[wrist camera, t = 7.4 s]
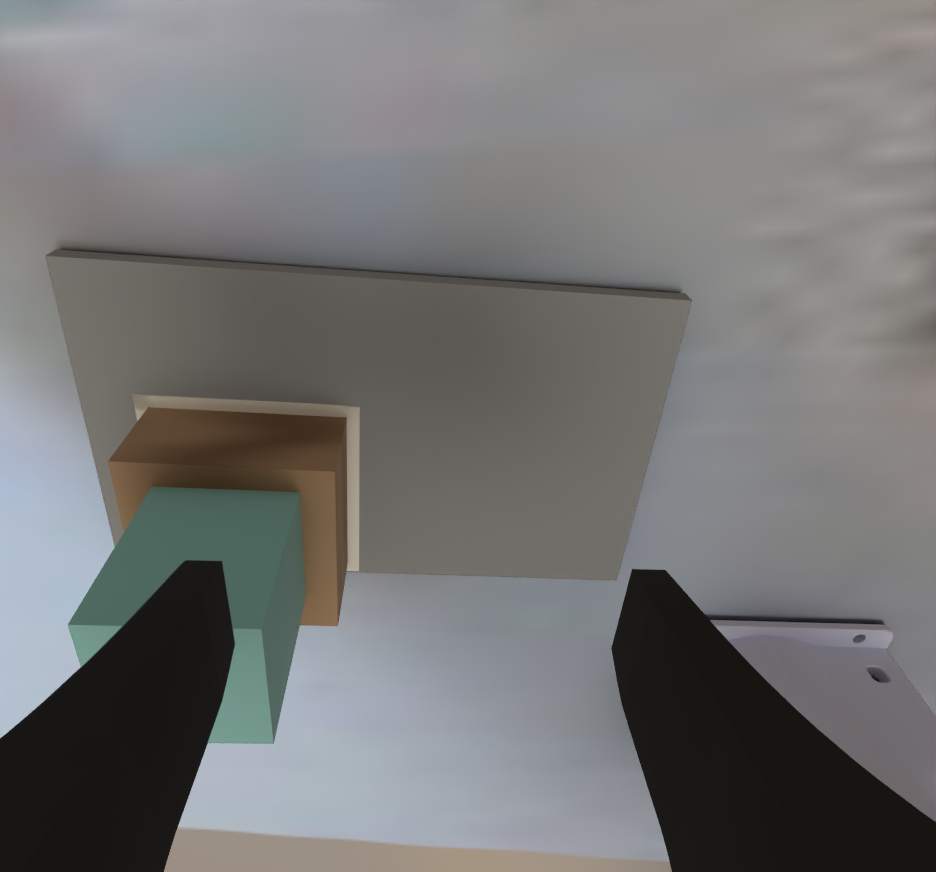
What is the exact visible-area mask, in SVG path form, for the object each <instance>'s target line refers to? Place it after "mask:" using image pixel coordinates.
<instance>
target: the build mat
mask: <svg viewBox="0 0 936 872" xmlns="http://www.w3.org/2000/svg"><path fill="white" fill-rule="evenodd" d="M46 261H47V265H48V269H49V273H50V277H51V282H52V286H53V290H54V294H55V298H56V302H57V307H58V311H59V315H60V319H61V323H62V328H63V332H64V336H65V340H66V344H67V348H68V353H69V357H70V361H71V365H72V369H73V374H74V378H75V382H76V386H77V390H78V394H79V399H80V403H81V407H82V411H83V415H84V420H85V424H86V428H87V432H88V436H89V441H90V445H91V449H92V453H93V457H94V461H95V466H96V470H97V474H98V478H99V482H100V487H101V491H102V495H103V499H104V503H105V507H106V512H107V516H108V520H109V524H110V528H111V533H112V537H113V541H114V545H115V546H116V545H117V543H118V541H119V540H120V538H121V536H122V535H123V533H124V531H123V527H122V522H121V518H120V514H119V509H118V505H117V500H116V496H115V491H114V487H113V483H112V478H111V474H110V469H109V465H108V460H109V459H110V458H111V456H112V455H113V454H114V452H115V451H116V450H117V448H118V447H119V446H120V444H121V443H122V442H123V440H124V439H125V438H126V436H127V435H128V434H129V432H130V431H131V429H132V428H133V427H134V425H135V424H136V423H137V421H138V420H139V419H140V417H141V416H142V415H143V413H144V412H145V411H146V409H147V408H148V407H152V408H172V409H191V410H211V411H230V412H249V413H269V414H288V415H308V416H327V417H347V541H348V564H347V570H346V572H370V573H401V574H432V575H463V576H495V577H526V578H557V579H588V580H617V577H618V573H619V569H620V566H621V562H622V558H623V554H624V551H625V547H626V543H627V540H628V536H629V532H630V528H631V525H632V521H633V517H634V514H635V510H636V506H637V503H638V499H639V495H640V491H641V488H642V484H643V480H644V477H645V473H646V469H647V465H648V462H649V458H650V454H651V451H652V447H653V443H654V439H655V436H656V432H657V428H658V425H659V421H660V417H661V414H662V410H663V406H664V402H665V399H666V395H667V391H668V388H669V384H670V380H671V376H672V373H673V369H674V365H675V362H676V358H677V354H678V351H679V347H680V343H681V339H682V336H683V332H684V328H685V325H686V321H687V317H688V313H689V310H690V306H691V302H692V300H691V299H690V298H689V297H688V296H687V295H686V294H683V293H669V292H655V291H640V290H626V289H612V288H598V287H583V286H569V285H555V284H540V283H526V282H512V281H498V280H483V279H469V278H455V277H440V276H426V275H412V274H398V273H383V272H369V271H355V270H340V269H326V268H312V267H298V266H283V265H269V264H255V263H240V262H226V261H212V260H198V259H183V258H169V257H155V256H140V255H126V254H112V253H98V252H83V251H69V250H54V251H53V252H51V253H49V254H48V255H46Z"/></svg>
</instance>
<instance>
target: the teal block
mask: <svg viewBox="0 0 936 872" xmlns="http://www.w3.org/2000/svg"><path fill="white" fill-rule="evenodd" d="M185 560H203V561H222V564H223V570H224V577H225V583H226V589H227V596H228V602H229V608H230V615H231V621H232V628H233V634H234V640H235V647H234V652H233V656H232V661H231V665H230V670H229V675H228V679H227V683H226V687H225V691H224V696H223V700H222V703H221V706H220V709H219V712H218V715H217V718H216V721H215V723H214V726H213V729H212V732H211V735H210V738H209V740H208V743H254V744H274V740H275V735H276V730H277V726H278V721H279V717H280V712H281V708H282V703H283V699H284V694H285V689H286V685H287V680H288V676H289V671H290V667H291V662H292V658H293V653H294V648H295V644H296V639H297V635H298V630H299V626H300V621H301V617H302V612H303V607H304V603H305V598H306V591H305V573H304V555H303V537H302V519H301V501H300V492H278V491H253V490H227V489H202V488H177V487H151V489H150V490H149V492H148V494H147V495H146V497H145V499H144V500H143V502H142V504H141V505H140V507H139V508H138V510H137V512H136V513H135V515H134V517H133V518H132V520H131V522H130V523H129V525H128V527H127V528H126V530H125V532H124V533H123V535H122V536H121V538H120V540H119V541H118V543H117V545H116V546H115V548H114V550H113V551H112V553H111V555H110V556H109V558H108V559H107V561H106V563H105V564H104V566H103V568H102V569H101V571H100V573H99V574H98V576H97V578H96V579H95V581H94V583H93V584H92V586H91V587H90V589H89V591H88V592H87V594H86V596H85V597H84V599H83V601H82V602H81V604H80V606H79V607H78V609H77V611H76V612H75V614H74V615H73V617H72V619H71V620H70V622H69V624H68V627H69V630H70V633H71V637H72V640H73V643H74V646H75V649H76V653H77V656H78V659H79V662H80V665H81V667H82V666H83V665H84V664H85V663H86V662H87V661H88V660H89V659H90V658H91V657H92V656H93V655H94V654H95V653H96V652H97V651H98V650H99V649H100V648H101V647H102V646H103V645H104V644H105V643H106V642H107V641H108V640H109V639H110V638H111V637H112V636H113V635H114V634H115V633H116V632H117V631H118V630H119V629H120V628H121V627H122V626H123V625H124V624H125V623H126V622H127V621H128V620H129V619H130V618H131V617H132V616H133V615H134V614H135V613H136V612H137V611H138V609H139V608H140V607H141V606H142V605H143V604H144V603H145V602H146V601H147V600H148V599H149V598H150V597H151V596H152V595H153V594H154V592H155V591H156V590H157V589H158V588H159V587H160V586H161V585H162V584H163V583H164V582H165V581H166V579H167V578H168V577H169V576H170V575H171V574H172V573H173V572H174V571H175V570H176V569H177V568H178V567H179V566H180V565H181V564H182V563H183V562H184V561H185Z"/></svg>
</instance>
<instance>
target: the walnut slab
mask: <svg viewBox="0 0 936 872" xmlns="http://www.w3.org/2000/svg"><path fill="white" fill-rule="evenodd" d="M108 465H109V469H110V474H111V478H112V483H113V487H114V491H115V496H116V500H117V505H118V509H119V514H120V518H121V522H122V527H123V531H124V532H125V530H126V528H127V527H128V525H129V523H130V522H131V520H132V518H133V517H134V515H135V513H136V512H137V510H138V508H139V507H140V505H141V504H142V502H143V500H144V499H145V497H146V495H147V494H148V492H149V490H150V489H151V487H177V488H202V489H227V490H253V491H278V492H300V501H301V519H302V537H303V555H304V573H305V591H306V598H305V603H304V607H303V612H302V617H301V621H300V625H314V626H338V621H339V615H340V609H341V602H342V596H343V589H344V583H345V576H346V570H347V564H348V541H347V417H327V416H308V415H288V414H269V413H249V412H230V411H211V410H191V409H172V408H152V407H148V408H147V409H146V411H145V412H144V413H143V415H142V416H141V417H140V419H139V420H138V421H137V423H136V424H135V425H134V427H133V428H132V429H131V431H130V432H129V434H128V435H127V436H126V438H125V439H124V440H123V442H122V443H121V444H120V446H119V447H118V448H117V450H116V451H115V452H114V454H113V455H112V456H111V458H110V459H109V460H108Z"/></svg>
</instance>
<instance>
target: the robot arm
mask: <svg viewBox="0 0 936 872" xmlns="http://www.w3.org/2000/svg"><path fill="white" fill-rule="evenodd" d="M892 639H893V633H892V631H891V630H890V629H889V627H887V626H886V625H879V624H842V623H805V622H769V621H732V620H709V619H708V618H707V617H706V615H705V614H704V613H703V612H702V611H701V610H700V609H699V608H698V606H697V605H696V604H695V603H694V602H693V601H692V600H691V598H690V597H689V596H688V595H687V594H686V593H685V592H684V591H683V589H682V588H681V587H680V586H679V585H678V584H677V583H676V581H675V580H674V579H673V578H672V577H671V576H670V575H669V574H668V573H667V571H666V570H639V569H632V572H631V576H630V579H629V583H628V587H627V591H626V595H625V599H624V603H623V606H622V610H621V614H620V618H619V622H618V626H617V630H616V633H615V637H614V641H613V645H612V654H613V659H614V665H615V671H616V677H617V682H618V687H619V692H620V697H621V702H622V706H623V709H624V712H625V716H626V719H627V722H628V726H629V729H630V732H631V735H632V738H633V742H634V745H635V748H636V751H637V754H638V758H639V761H640V764H641V767H642V770H643V773H644V776H645V780H646V783H647V786H648V789H649V792H650V795H651V798H652V802H653V805H654V808H655V811H656V814H657V817H658V821H659V824H660V827H661V830H662V834H663V838H664V841H665V845H666V849H667V852H668V856H669V860H670V865H671V869H672V872H936V716H935V715H934V713H933V712H932V710H931V709H930V708H929V706H928V705H927V704H926V702H925V701H924V700H923V698H922V697H921V695H920V694H919V693H918V691H917V690H916V689H915V687H914V686H913V685H912V683H911V682H910V680H909V679H908V678H907V676H906V675H905V674H904V672H903V671H902V670H901V668H900V667H899V665H898V664H897V663H896V661H895V660H894V659H893V657H892V656H891V655H890V653H889V652H888V650H887V647H888V646H889V644H890V642H891V641H892ZM234 647H235V640H234V634H233V628H232V621H231V615H230V608H229V602H228V596H227V589H226V583H225V577H224V570H223V564H222V561H203V560H185V561H184V562H183V563H182V564H181V565H180V566H179V567H178V568H177V569H176V570H175V571H174V572H173V573H172V574H171V575H170V576H169V577H168V578H167V579H166V581H165V582H164V583H163V584H162V585H161V586H160V587H159V588H158V589H157V590H156V591H155V592H154V594H153V595H152V596H151V597H150V598H149V599H148V600H147V601H146V602H145V603H144V604H143V605H142V606H141V607H140V608H139V609H138V611H137V612H136V613H135V614H134V615H133V616H132V617H131V618H130V619H129V620H128V621H127V622H126V623H125V624H124V625H123V626H122V627H121V628H120V629H119V630H118V631H117V632H116V633H115V634H114V635H113V636H112V637H111V638H110V639H109V640H108V641H107V642H106V643H105V644H104V645H103V646H102V647H101V648H100V649H99V650H98V651H97V652H96V653H95V654H94V655H93V656H92V657H91V658H90V659H89V660H88V661H87V662H86V663H85V664H84V665H83V666H82V667H81V668H80V669H79V670H77V671H76V672H75V673H74V674H73V675H72V676H71V677H70V678H69V679H68V680H67V681H66V682H64V683H63V684H62V685H61V686H60V687H59V688H58V689H57V690H56V691H55V692H54V693H53V694H51V695H50V696H49V697H48V698H47V699H46V700H45V701H44V702H43V703H42V704H40V705H39V706H38V707H37V708H36V709H35V710H34V711H32V712H31V713H30V714H29V715H28V716H27V717H25V718H24V719H23V720H22V721H21V722H20V723H18V724H17V725H16V726H15V727H14V728H12V729H11V730H10V731H9V732H8V733H6V734H5V735H4V736H3V737H1V738H0V872H164V869H165V865H166V861H167V858H168V855H169V852H170V849H171V845H172V842H173V839H174V836H175V833H176V830H177V827H178V824H179V822H180V819H181V816H182V813H183V810H184V808H185V805H186V802H187V799H188V796H189V794H190V791H191V788H192V785H193V782H194V780H195V777H196V774H197V771H198V768H199V766H200V763H201V760H202V757H203V755H204V752H205V749H206V746H207V743H208V740H209V738H210V735H211V732H212V729H213V726H214V723H215V721H216V718H217V715H218V712H219V709H220V706H221V703H222V700H223V696H224V691H225V687H226V683H227V679H228V675H229V670H230V665H231V661H232V656H233V652H234Z"/></svg>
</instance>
